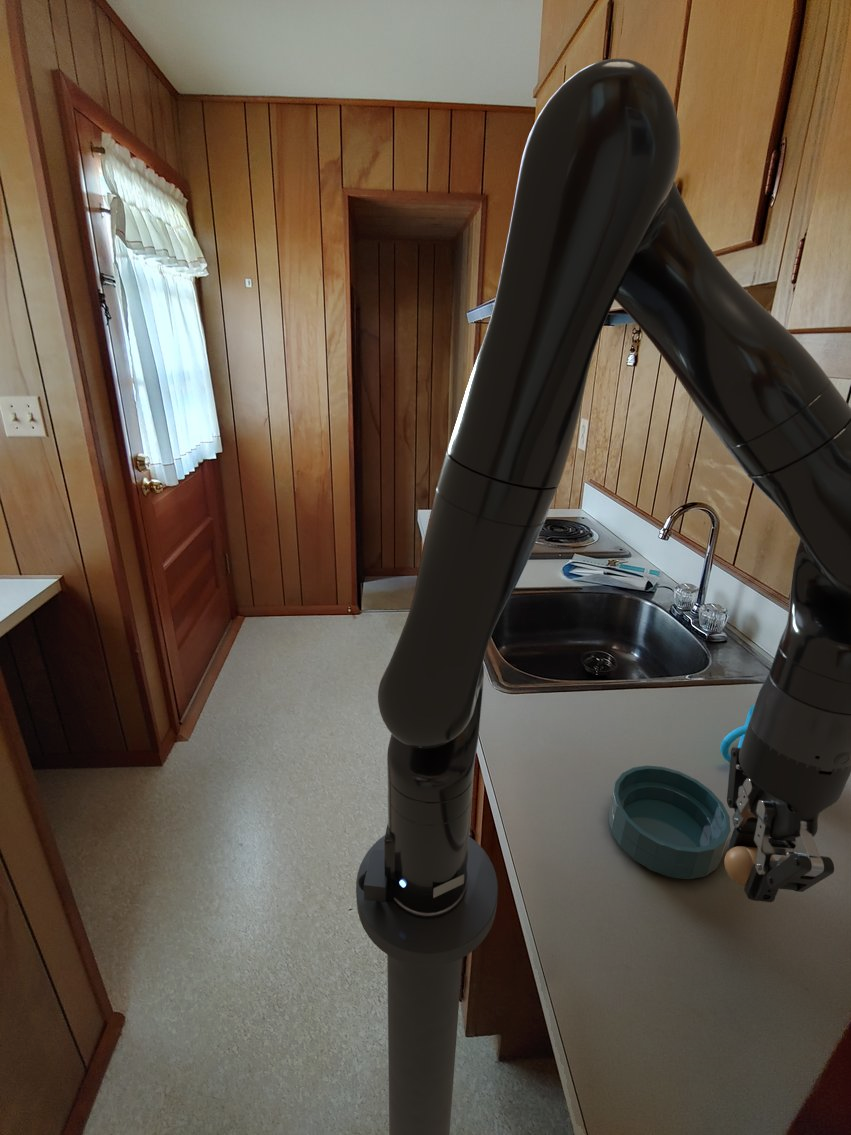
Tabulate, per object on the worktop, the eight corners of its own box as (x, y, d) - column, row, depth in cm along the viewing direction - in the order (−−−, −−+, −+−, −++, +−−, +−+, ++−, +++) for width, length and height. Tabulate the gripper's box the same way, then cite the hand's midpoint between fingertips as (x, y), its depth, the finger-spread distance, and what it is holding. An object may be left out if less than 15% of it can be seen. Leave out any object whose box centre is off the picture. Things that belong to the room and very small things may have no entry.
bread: (728, 893, 51) (738, 867, 50) (714, 861, 54) (723, 836, 53) (780, 899, 50) (791, 873, 49) (763, 866, 54) (773, 841, 52)
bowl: (620, 876, 64) (627, 845, 62) (599, 789, 76) (604, 761, 74) (739, 888, 63) (750, 857, 61) (698, 798, 75) (706, 770, 73)
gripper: (721, 679, 52) (682, 813, 59) (799, 793, 39) (737, 949, 46) (805, 686, 51) (755, 821, 58) (911, 804, 38) (832, 960, 45)
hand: (747, 876), depth 52 cm, fingers closed on bread, 3 cm apart
